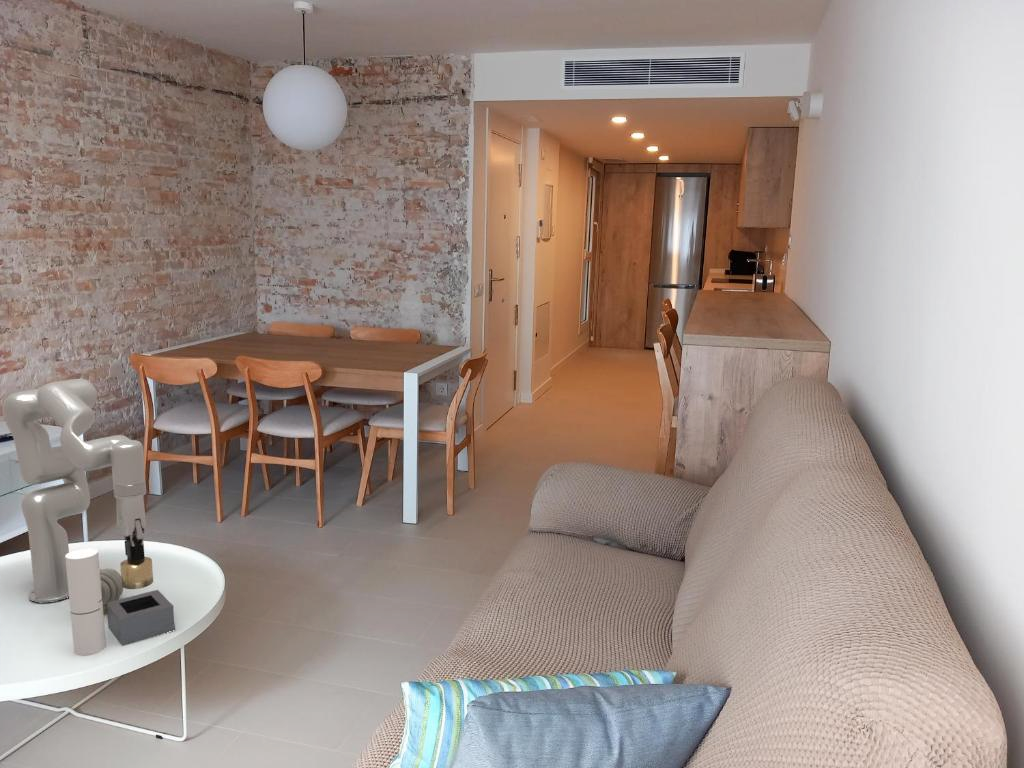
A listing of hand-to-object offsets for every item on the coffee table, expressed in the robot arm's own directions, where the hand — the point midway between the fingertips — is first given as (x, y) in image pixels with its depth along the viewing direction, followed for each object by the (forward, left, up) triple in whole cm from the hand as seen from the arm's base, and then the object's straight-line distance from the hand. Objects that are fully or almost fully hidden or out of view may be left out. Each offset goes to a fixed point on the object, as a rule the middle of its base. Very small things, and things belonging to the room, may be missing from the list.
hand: (135, 556), depth 213 cm
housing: (0, 0, -20) cm, 20 cm away
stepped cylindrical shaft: (0, 0, -7) cm, 7 cm away
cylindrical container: (+3, -13, -20) cm, 24 cm away
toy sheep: (-20, -4, -20) cm, 29 cm away
